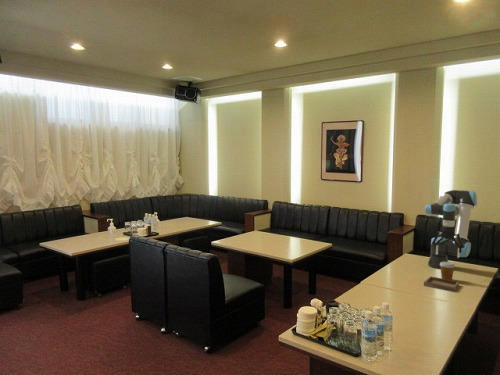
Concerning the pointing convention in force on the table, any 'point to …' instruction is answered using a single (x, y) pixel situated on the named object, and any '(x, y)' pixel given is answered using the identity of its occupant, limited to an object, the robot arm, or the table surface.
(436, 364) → the table surface
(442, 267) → the disposable coffee cup
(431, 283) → the walnut tray
